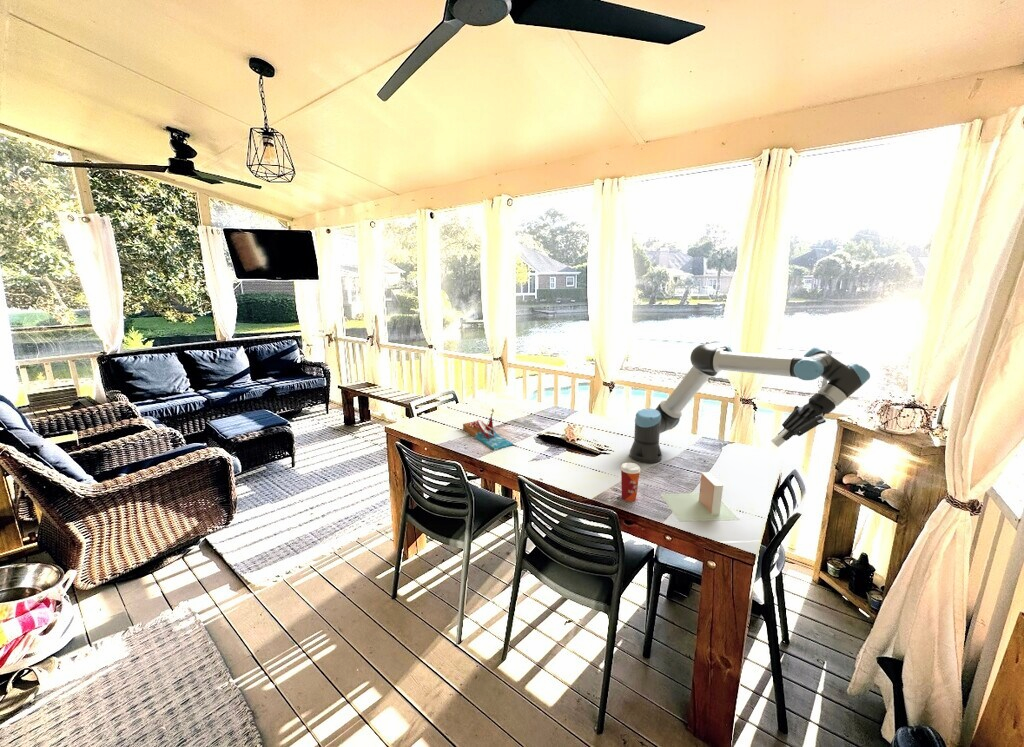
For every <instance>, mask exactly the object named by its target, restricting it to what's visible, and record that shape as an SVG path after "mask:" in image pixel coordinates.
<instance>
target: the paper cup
mask: <svg viewBox="0 0 1024 747" xmlns="http://www.w3.org/2000/svg"><path fill="white" fill-rule="evenodd" d="M620 470H621V471H620V472H621V474H620V477H621V478H620V479H621V480H620V481H621V485H620V489H621V499H622V500H623V501H625V502H629V503H630V502H632V503H634V502H636V500H637V496H638V495H637V494H638V488H639V481H640V480H639V478H640V472H641V470H642V469H641V467H640V466H639V465H638V464H637V463H634V462H624V463H621V466H620Z"/></svg>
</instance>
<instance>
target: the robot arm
mask: <svg viewBox="0 0 1024 747" xmlns="http://www.w3.org/2000/svg"><path fill="white" fill-rule="evenodd" d="M689 358H690V363H691V364H692V366H691V368H690V369H689V371H688V372H687V373H686V375H685V376H684V377H683V378H682V379H681V381H680V382H679V384H678V385H677V386H676V387H675V389H674V390H673V391H672V392H671V393H670V395H669V397H668V398H667V399H666V400H662V401H660V403H659V404H658V405H657V407H656V408H646V409H645V408H642V409H640V410H638V411H637V412H636V414H635V419H634V438H633V439H634V440H633V442H632V444H631V448H630V450H629V457H630V458H631V459H632V460H634V461H635V462H640V463H644V464H654V463H659V462H661V461H662V460H663V459H662V458H663V454H662V451H661V446H660V436H661V435H660V434H663V433H664V432H666V431H670V430H672V429H674V428H675V427H677V426H678V424H679V423H680V420H681V417H682V416H683V415H682V411H683V410H684V409H685V408H686V406H687V404H689V403H690V401H691V400H692V399H693V397H694V396H695V395H696V394H697V393H698V391H699V390H700V389H701V388H702V387H703V385H705V383H706V382H707V381H708V379H709V378H712V377H715V376H717V374H718V373H719V372H721V371H729V372H739V373H747V374H748V373H750V374H759V375H760V374H761V375H768V376H771V375H772V376H780V377H791V378H798V379H799V380H801V381H814V380H816V379H818V378H819V377H822V378H823V379H824V380H826V381H828V382H827V383H826V384H825V385H823V386H822V387H821V388H820V389H819V390H818V391H817V392H816V393H814V394H813V395H812V396H811V397H810V398H808V403H806V404H804V405H803V406H798V405H795V406H794V408H793V411H792V412H791V413H790V414H789V416H788V417H787V418H786V419H785V420H784V421H783V423H782V427H783V429H782V430H781V431H779V432H778V434H777V435H776V436H775V437H774V438H772V439H771V440H770V442H772V443H773V445H774V446H776V447H777V448H779V447H780V446H782V444H784V443H785V442H787V441H788V440H789V439H791V438H792V437H793V436H798V437H800V436H803V435H804V434H806V433H808V432H809V431H811V430H812V429H814V428H816V427H818V426H819V425H822V424H825V423H826V419H825V418H824V416H825V415H829V414H831V412H833V411H834V410H835V409H836V407H838V406H839V405H841V404H842V403H843V402H844V401H845V400H846V399H849V397H850V396H851V395H852V394H854V393H855V392H856V391H857V390H859V389H860V388H861V387H862V386H863V385H864V384H865V383H866V382H868V380H869V379H870V378H871V373H870V371H868V369H866V368H865V367H864V366H862V365H859V364H858V363H850V364H848V365H846V364H844V363H842V362H841V361H839V360H838V359H837V358H835V357H833V356H832V355H830V354H829V353H828V352H826V351H825V350H823V349H820V348H819V347H812V348H811V349H809V351H807V352H806V353H805V354H804V355H803V356H794V355H783V354H782V355H781V354H780V355H779V354H768V353H767V354H766V353H764V354H763V353H750V352H749V353H746V352H734V351H733V350H732V349H731V346H729V345H728V344H727V343H726V342H724V341H718V340H717V341H711V342H707V343H704V344H700V345H698V346H696V347H695V348H694V349H693V350H692V351H691V354H690V357H689Z"/></svg>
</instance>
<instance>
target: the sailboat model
mask: <svg viewBox="0 0 1024 747" xmlns="http://www.w3.org/2000/svg"><path fill="white" fill-rule="evenodd" d="M491 412H492V413H491V414H490V417H489V420H488V422H487V424H486V423H484V421H483V420H480V419H477V420H475V421H471V422H466V423H462V430H463V431H464V430H465V431H464V432H466V433H467V434H469V435H470V436H472V437H473V436H474V438H475V439H476V440H478V441H479V442H481V443H482V444H484V445H485V446H486V445H487V446H486V447H488V448H489V449H491V450H492V449H493V451H494V450H495V451H498V450H502V448H503V449H506V448H509V447H513V446H514V444H513V443H512V442H511V441H510V440H508V439H506V438H504V436H503V437H502V436H501V435H499V434H498V433H496V430H494V425H493V424H494V423H493V422H494V421H493V415H494V412H495V410H494V408H492V409H491Z"/></svg>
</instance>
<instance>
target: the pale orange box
mask: <svg viewBox="0 0 1024 747" xmlns="http://www.w3.org/2000/svg"><path fill="white" fill-rule="evenodd" d="M723 488H724V485H723V483H721V481H719V480H718V479H717V478H716V477H715V476H714V475H712V473H710V472H709V471H708V472H705V471H704V472H701V474H700V484H699V492H698V493H699V501H700V502H701V503H702V505H703V506H704V507H705V508H706V509H707V510H708V511H709V512H710V513H711V515H720V508H721V501H722V497H723V490H724V489H723Z"/></svg>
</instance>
